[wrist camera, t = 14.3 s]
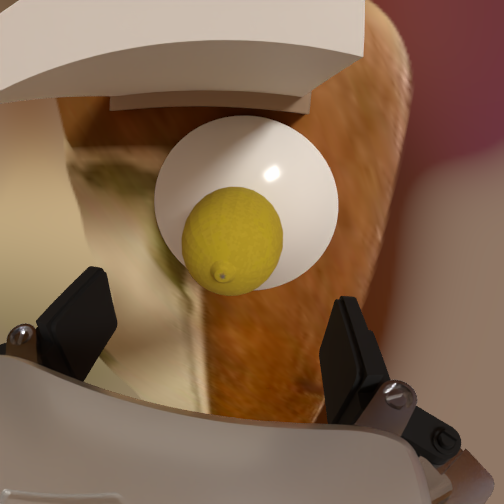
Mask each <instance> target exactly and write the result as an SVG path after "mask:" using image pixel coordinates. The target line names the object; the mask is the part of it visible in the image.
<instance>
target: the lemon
mask: <svg viewBox="0 0 504 504" xmlns="http://www.w3.org/2000/svg"><path fill="white" fill-rule="evenodd" d="M181 240H182V256H183V259H184V263H185V266H186V268H187V270H188V271H189V273H190V275H191V276H192V278H193V279H194V280H195V281H196V282H197V283H198V284H199V285H201V286H202V287H204V288H205V289H207V290H209V291H211V292H214V293H216V294H220V295H226V296H235V295H241V294H245V293H248V292H251V291H252V290H254V289H256V288H258V287H259V286H261V285H262V284H263V283H264V282H265V281H266V280H267V279H268V278H269V277H270V275H271V274H272V272H273V271H274V269H275V268H276V266H277V264H278V262H279V259H280V255H281V252H282V249H283V229H282V225H281V221H280V218H279V215H278V214H277V212H276V210H275V208H274V207H273V205H272V204H271V203H270V202H269V201H268V200H267V199H266V198H265V197H264V196H262V195H261V194H259V193H257V192H255V191H254V190H251V189H247V188H244V187H226V188H221V189H218V190H215V191H213V192H211V193H210V194H208V195H206V196H205V197H204V198H202V199H201V200H200V201H199V202H198V203H197V204H196V205H195V206H194V208H193V209H192V211H191V213H190V214H189V216H188V218H187V219H186V222H185V226H184V229H183V233H182V239H181Z"/></svg>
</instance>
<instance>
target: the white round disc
mask: <svg viewBox="0 0 504 504" xmlns="http://www.w3.org/2000/svg"><path fill="white" fill-rule="evenodd" d="M226 187H244V188H247V189H251V190H254V191H255V192H257V193H259V194H261V195H262V196H264V197H265V198H266V199H267V200H268V201H269V202H270V203H271V204H272V205H273V207H274V208H275V210H276V212H277V214H278V215H279V218H280V221H281V225H282V229H283V249H282V252H281V255H280V259H279V262H278V264H277V266H276V268H275V269H274V271H273V272H272V274H271V275H270V277H269V278H268V279H267V280H266V281H265V282H264V283H263V284H262V285H261V286H259V287H258V288H256V289H254V290H262V289H268V288H272V287H276V286H279V285H282V284H284V283H287V282H289V281H291V280H293V279H295V278H297V277H298V276H300V275H301V274H303V273H304V272H305V271H307V270H308V269H309V268H310V267H311V266H312V265H313V264H315V263H316V262H317V260H318V259H319V258H320V257H321V255H322V254H323V253H324V251H325V250H326V248H327V246H328V245H329V243H330V240H331V238H332V236H333V233H334V230H335V227H336V223H337V216H338V195H337V189H336V184H335V181H334V178H333V175H332V173H331V170H330V168H329V166H328V164H327V162H326V161H325V159H324V158H323V156H322V155H321V153H320V152H319V151H318V150H317V149H316V148H315V146H314V145H313V144H312V143H311V142H310V141H309V140H307V139H306V138H305V137H304V136H303V135H301V134H300V133H298V132H297V131H295V130H294V129H292V128H291V127H289V126H287V125H285V124H282V123H280V122H278V121H275V120H271V119H268V118H264V117H257V116H231V117H224V118H220V119H217V120H213V121H210V122H208V123H206V124H204V125H202V126H199V127H198V128H196V129H195V130H193V131H191V132H190V133H188V134H187V135H186V136H185V137H184V138H183V139H181V140H180V141H179V142H178V143H177V144H176V146H175V147H174V148H173V149H172V150H171V152H170V153H169V155H168V156H167V158H166V159H165V161H164V163H163V165H162V167H161V169H160V172H159V175H158V178H157V182H156V187H155V197H154V206H155V215H156V219H157V223H158V227H159V229H160V232H161V235H162V237H163V239H164V241H165V242H166V244H167V246H168V247H169V249H170V250H171V252H172V253H173V255H174V256H175V257H176V258H177V259H178V260H179V261H180V262H181V263H182V264H183V265H184V266H185V263H184V259H183V256H182V240H181V239H182V233H183V229H184V226H185V222H186V219H187V218H188V216H189V214H190V213H191V211H192V209H193V208H194V206H195V205H196V204H197V203H198V202H199V201H200V200H201V199H202V198H204V197H205V196H206V195H208V194H210V193H211V192H213V191H215V190H218V189H221V188H226ZM185 267H186V266H185Z"/></svg>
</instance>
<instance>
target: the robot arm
mask: <svg viewBox="0 0 504 504" xmlns="http://www.w3.org/2000/svg"><path fill="white" fill-rule="evenodd" d="M36 323H37V326H38V327H37V328H36V329H35V328H34V326H32V325H30V324H20V325H18V326H16V327H14V328H13V329H12V330H11V331H10V332H9V334H8V336H7V342H6V343H4V344H1V345H0V504H485V503H486V501H487V500H488V498H489V497H490V496H491V494H492V492H493V489H494V480H493V478H492V476H491V475H490V473H488V472H487V470H486V469H485V468H484V467H483V466H482V465H481V464H480V463H479V462H478V461H477V460H476V459H475V458H474V457H473V456H472V454H471V453H470V452H469V451H468V450H467V449H465V450H464V451H463V450H462V449H461V448H460V447H461V439H460V436H459V434H458V432H457V431H456V430H455V429H454V428H453V427H451V426H449V425H448V424H446V423H444V422H443V421H441V420H439V419H437V418H436V417H434V416H432V415H431V414H429V413H427V412H426V411H424V410H422V409H421V408H419V407H418V406H416V404H417V395H416V393H415V391H414V389H413V388H412V387H411V386H410V385H408V384H407V383H405V382H403V381H400V380H390V377H389V374H388V371H387V369H386V366H385V363H384V360H383V357H382V354H381V352H380V349H379V346H378V344H377V341H376V338H375V336H374V333H373V332H372V331H371V330H368V328H367V325H366V323H365V320H364V317H363V315H362V312H361V309H360V307H359V304H358V302H357V299H356V298H355V297H349V296H341V297H340V299H336V300H335V302H334V305H333V308H332V312H331V315H330V319H329V322H328V325H327V328H326V332H325V335H324V338H323V341H322V344H321V347H320V351H319V359H320V366H321V373H322V380H323V388H324V396H325V404H326V412H327V421H328V424H309V423H286V422H272V421H259V420H248V419H239V418H231V417H224V416H217V415H210V414H204V413H199V412H193V411H188V410H182V409H177V408H173V407H168V406H164V405H159V404H155V403H151V402H147V401H143V400H139V399H136V398H132V397H129V396H125V395H122V394H118V393H115V392H112V391H109V390H105V389H102V388H99V387H96V386H93V385H91V384H88V383H85V382H83V381H84V380H85V378H86V377H87V375H88V373H89V372H90V370H91V368H92V367H93V365H94V363H95V362H96V360H97V358H98V357H99V355H100V354H101V352H102V350H103V349H104V347H105V346H106V344H107V342H108V341H109V339H110V338H111V336H112V335H113V333H114V331H115V330H116V328H117V319H116V315H115V310H114V306H113V302H112V297H111V293H110V288H109V283H108V278H107V274H106V272H104V270H103V269H102V268H99V267H93V266H90V267H88V268H87V269H86V270H85V271H84V272H83V273H82V274H81V275H80V276H79V277H78V278H77V279H76V280H75V281H74V282H73V283H72V284H71V285H70V286H69V287H68V288H67V289H66V290H65V291H64V292H63V293H62V294H61V295H60V296H59V297H58V298H57V299H56V300H55V301H54V302H53V303H52V304H51V305H50V306H49V307H48V309H46V311H45V312H44V313H43V314H42V315H41V316H40V317H39V318H38V319H37V320H36Z"/></svg>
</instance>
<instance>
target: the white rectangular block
mask: <svg viewBox="0 0 504 504" xmlns="http://www.w3.org/2000/svg"><path fill="white" fill-rule="evenodd" d="M364 25H365V0H19V1H17V2H16V3H14V4H13V5H12V6H10V7H9V8H7V9H6V10H4V11H3V12H2V13H0V104H2V103H9V102H16V101H23V100H32V99H41V98H55V97H74V96H110V111H117V110H131V109H143V108H160V107H233V108H250V109H263V110H274V111H283V112H292V113H300V114H309V111H310V101H311V91H312V90H313V89H315V88H316V87H317V86H319V85H320V84H322V83H323V82H325V81H326V80H328V79H329V78H331V77H332V76H334V75H335V74H337V73H338V72H340V71H342V70H343V69H345V68H346V67H348V66H349V65H351V64H353V63H354V62H356V61H357V60H359V59H361V58H362V57H363V50H364Z"/></svg>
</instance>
